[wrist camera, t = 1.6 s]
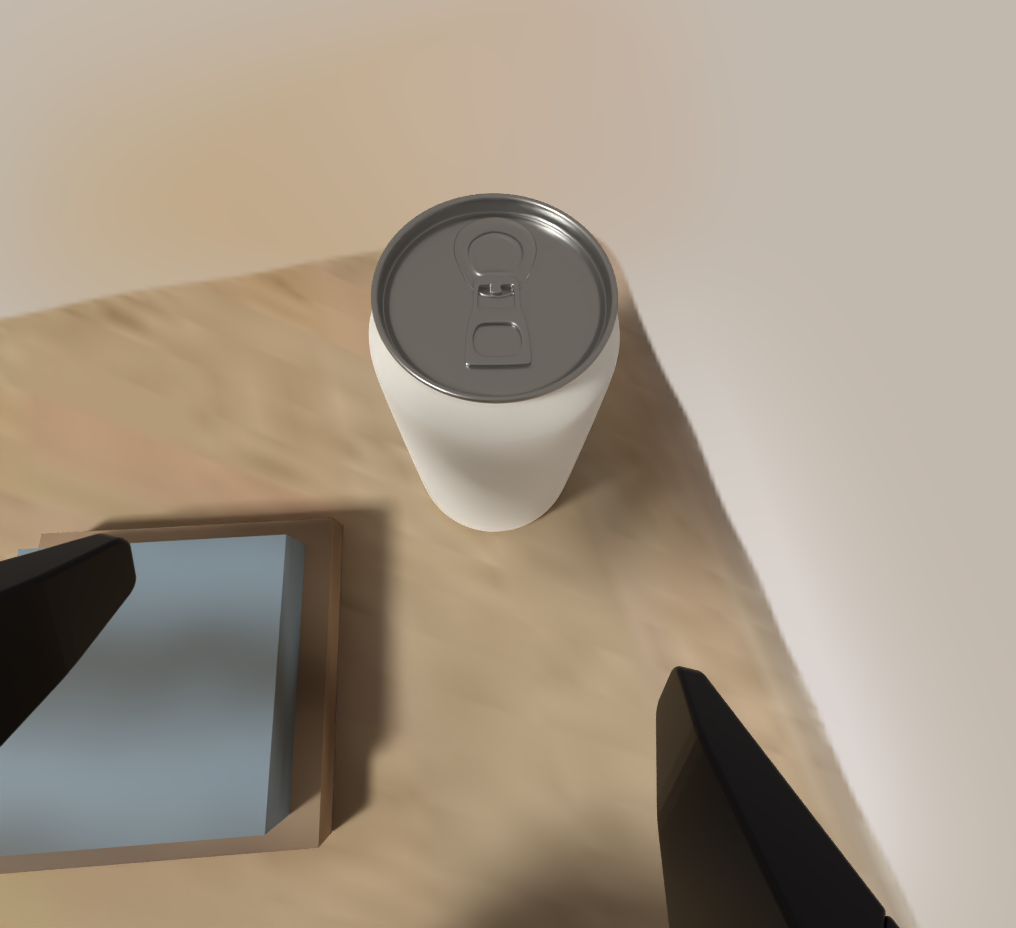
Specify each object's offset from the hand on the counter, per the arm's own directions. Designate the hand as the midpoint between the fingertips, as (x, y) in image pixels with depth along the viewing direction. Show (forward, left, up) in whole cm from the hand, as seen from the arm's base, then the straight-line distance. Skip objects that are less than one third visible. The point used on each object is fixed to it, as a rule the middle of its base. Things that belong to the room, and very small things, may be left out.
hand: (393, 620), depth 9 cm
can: (+7, -2, -13) cm, 15 cm away
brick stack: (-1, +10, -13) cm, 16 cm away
